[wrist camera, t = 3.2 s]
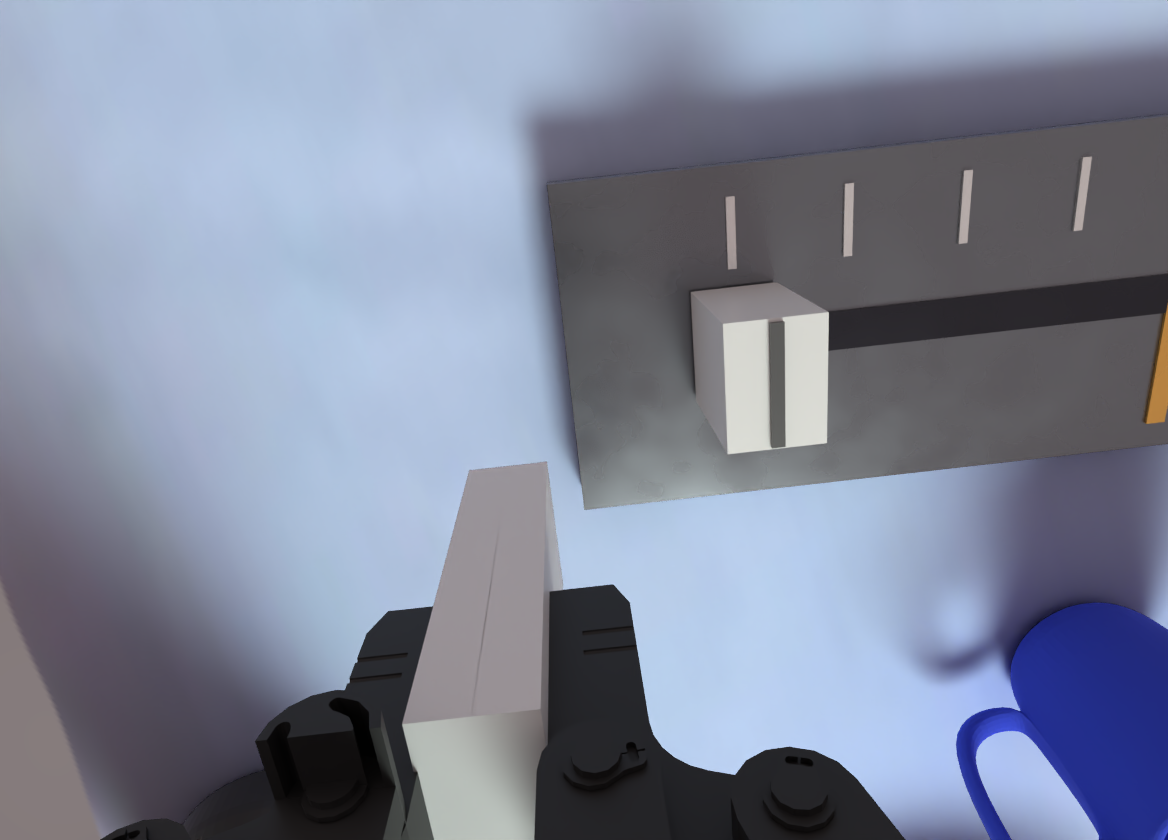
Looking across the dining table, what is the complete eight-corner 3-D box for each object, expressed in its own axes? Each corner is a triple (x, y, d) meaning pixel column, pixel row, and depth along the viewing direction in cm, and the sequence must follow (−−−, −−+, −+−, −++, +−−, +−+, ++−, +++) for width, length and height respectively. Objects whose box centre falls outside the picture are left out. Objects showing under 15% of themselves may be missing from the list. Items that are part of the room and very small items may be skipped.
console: (582, 487, 30) (584, 511, 28) (547, 182, 26) (546, 184, 24) (1302, 405, 30) (1355, 423, 28) (1383, 90, 26) (1452, 84, 24)
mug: (885, 650, 34) (1015, 843, 24) (1145, 551, 32) (1388, 715, 23) (929, 773, 36) (1061, 989, 27) (1170, 686, 35) (1397, 881, 26)
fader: (696, 401, 27) (729, 456, 22) (690, 291, 25) (724, 325, 20) (778, 391, 27) (828, 445, 22) (776, 282, 25) (830, 313, 20)
